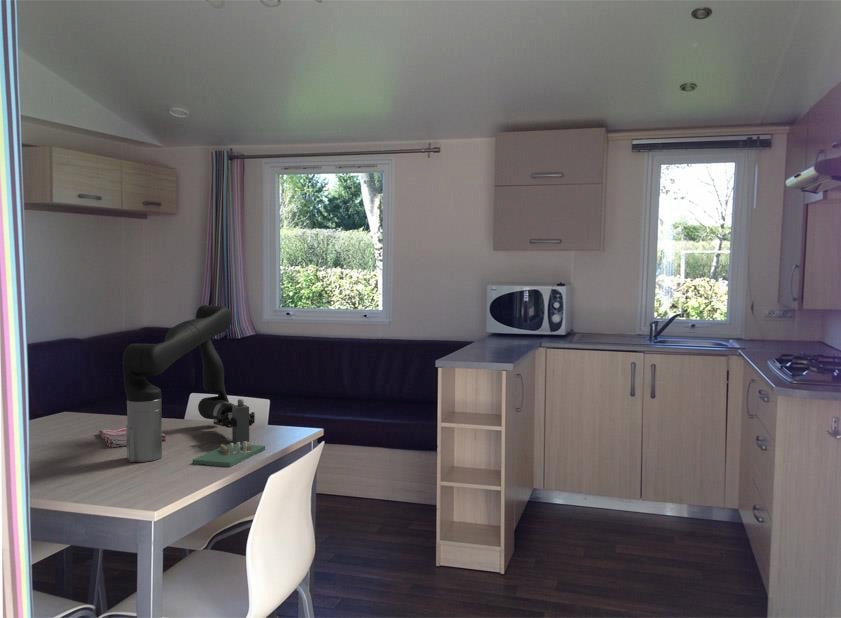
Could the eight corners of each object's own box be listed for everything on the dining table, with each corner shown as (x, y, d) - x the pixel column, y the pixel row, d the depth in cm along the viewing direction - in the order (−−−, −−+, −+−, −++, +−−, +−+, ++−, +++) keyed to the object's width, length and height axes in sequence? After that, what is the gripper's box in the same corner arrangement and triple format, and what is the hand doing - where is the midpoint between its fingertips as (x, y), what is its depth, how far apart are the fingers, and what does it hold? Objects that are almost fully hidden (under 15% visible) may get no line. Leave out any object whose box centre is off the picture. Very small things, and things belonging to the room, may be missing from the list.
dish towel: (110, 450, 213) (109, 439, 212) (97, 435, 232) (97, 425, 232) (167, 443, 222) (167, 432, 222) (151, 429, 241) (151, 419, 241)
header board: (230, 466, 192) (230, 451, 192) (192, 463, 195) (192, 448, 195) (265, 449, 211) (265, 436, 211) (230, 447, 214) (229, 433, 214)
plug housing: (236, 443, 215) (236, 401, 215) (232, 439, 220) (232, 399, 219) (249, 441, 217) (249, 400, 217) (244, 438, 222) (244, 398, 221)
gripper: (205, 404, 227) (220, 413, 212) (248, 401, 234) (265, 409, 219) (205, 427, 227) (220, 437, 212) (248, 423, 234) (265, 432, 220)
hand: (243, 423), depth 216 cm, fingers closed on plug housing, 4 cm apart
